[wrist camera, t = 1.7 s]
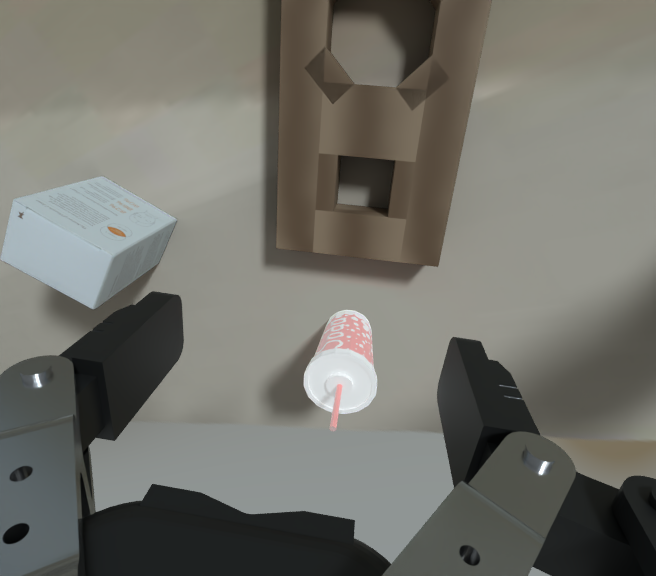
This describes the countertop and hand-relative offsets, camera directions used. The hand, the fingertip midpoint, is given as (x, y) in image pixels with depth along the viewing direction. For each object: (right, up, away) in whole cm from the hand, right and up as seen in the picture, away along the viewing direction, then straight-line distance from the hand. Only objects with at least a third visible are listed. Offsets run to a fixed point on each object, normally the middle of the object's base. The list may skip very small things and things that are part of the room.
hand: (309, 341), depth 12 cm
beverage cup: (+3, -3, +30) cm, 30 cm away
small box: (-18, +8, +28) cm, 34 cm away
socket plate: (+4, +16, +21) cm, 27 cm away
